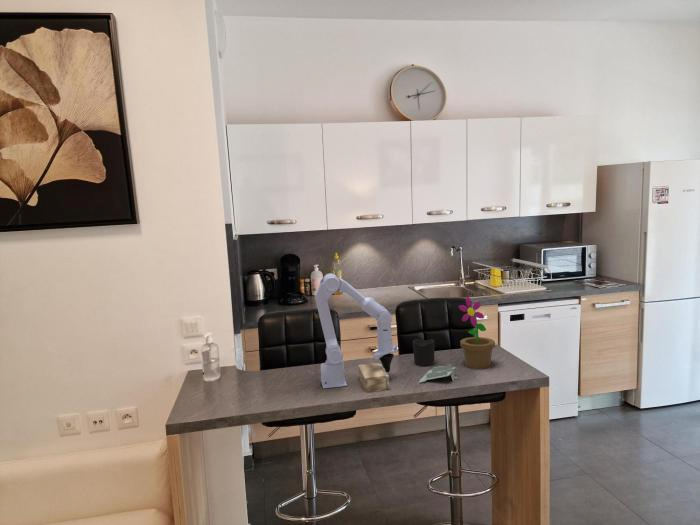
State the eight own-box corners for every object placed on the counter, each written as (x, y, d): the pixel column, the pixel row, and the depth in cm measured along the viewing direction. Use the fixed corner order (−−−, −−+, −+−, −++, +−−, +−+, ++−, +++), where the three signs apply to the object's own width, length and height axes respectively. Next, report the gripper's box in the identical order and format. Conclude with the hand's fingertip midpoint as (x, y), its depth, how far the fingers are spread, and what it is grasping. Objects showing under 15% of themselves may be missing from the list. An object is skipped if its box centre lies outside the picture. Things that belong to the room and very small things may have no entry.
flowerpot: (454, 365, 207) (451, 296, 204) (473, 357, 217) (471, 291, 213) (483, 372, 196) (481, 300, 193) (502, 363, 206) (500, 294, 203)
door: (383, 381, 192) (382, 369, 191) (378, 375, 199) (377, 363, 199) (385, 381, 192) (385, 369, 191) (380, 375, 199) (380, 363, 199)
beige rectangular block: (365, 392, 182) (365, 378, 182) (358, 378, 198) (358, 365, 198) (391, 389, 184) (390, 375, 183) (382, 375, 200) (381, 362, 199)
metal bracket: (457, 360, 196) (447, 372, 183) (461, 374, 196) (452, 386, 183) (425, 367, 203) (413, 378, 190) (429, 380, 203) (418, 393, 190)
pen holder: (422, 368, 206) (421, 345, 205) (409, 362, 214) (408, 340, 213) (439, 363, 211) (438, 341, 209) (426, 358, 219) (425, 337, 218)
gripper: (383, 344, 185) (385, 378, 187) (402, 335, 197) (404, 367, 198) (368, 342, 189) (370, 376, 191) (387, 333, 201) (389, 365, 202)
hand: (386, 371), depth 195 cm, fingers closed, pressing on door
